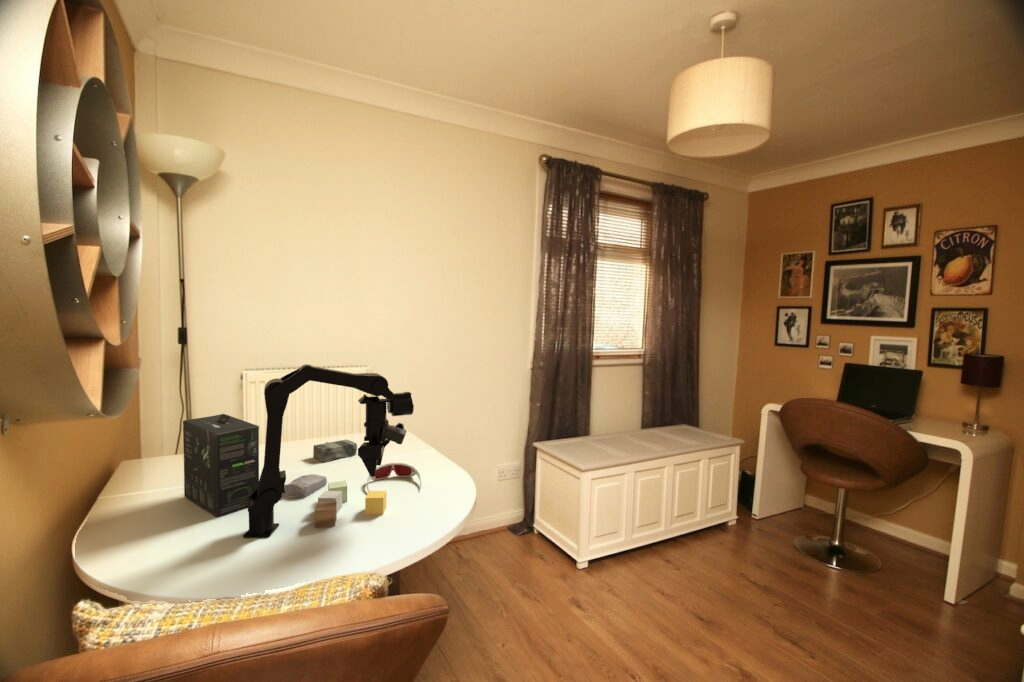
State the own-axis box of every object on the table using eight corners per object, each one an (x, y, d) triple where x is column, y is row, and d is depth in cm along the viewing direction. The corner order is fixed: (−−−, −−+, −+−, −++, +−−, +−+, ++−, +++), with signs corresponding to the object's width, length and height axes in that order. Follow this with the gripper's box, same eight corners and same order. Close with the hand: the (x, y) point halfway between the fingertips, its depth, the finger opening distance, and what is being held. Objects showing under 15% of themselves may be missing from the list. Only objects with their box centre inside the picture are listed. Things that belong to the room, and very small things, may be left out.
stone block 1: (279, 501, 140) (307, 498, 138) (276, 486, 140) (304, 483, 138) (303, 488, 152) (330, 485, 150) (301, 474, 152) (327, 471, 150)
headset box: (261, 503, 134) (259, 418, 132) (216, 518, 124) (214, 426, 122) (225, 485, 147) (224, 407, 145) (182, 498, 137) (180, 414, 135)
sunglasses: (417, 473, 162) (417, 460, 161) (423, 500, 146) (423, 486, 145) (366, 478, 157) (366, 465, 155) (367, 506, 141) (366, 492, 140)
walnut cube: (334, 526, 122) (334, 508, 121) (314, 528, 120) (314, 510, 120) (336, 518, 126) (336, 500, 126) (317, 520, 125) (317, 502, 125)
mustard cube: (383, 514, 129) (383, 497, 129) (365, 515, 129) (365, 498, 128) (386, 507, 134) (386, 490, 134) (369, 507, 134) (369, 490, 133)
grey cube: (335, 515, 128) (335, 498, 128) (318, 515, 128) (318, 497, 128) (342, 507, 133) (342, 491, 133) (325, 507, 133) (325, 490, 133)
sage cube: (347, 502, 137) (347, 486, 136) (329, 504, 135) (329, 488, 134) (345, 495, 141) (345, 480, 141) (328, 498, 139) (328, 482, 139)
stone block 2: (358, 455, 181) (359, 442, 180) (324, 464, 170) (324, 450, 169) (347, 450, 186) (347, 438, 186) (313, 458, 176) (312, 445, 175)
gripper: (400, 426, 121) (399, 482, 122) (408, 410, 140) (408, 459, 141) (357, 426, 120) (357, 483, 121) (371, 410, 139) (371, 460, 140)
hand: (375, 470), depth 131 cm, fingers open, 9 cm apart
